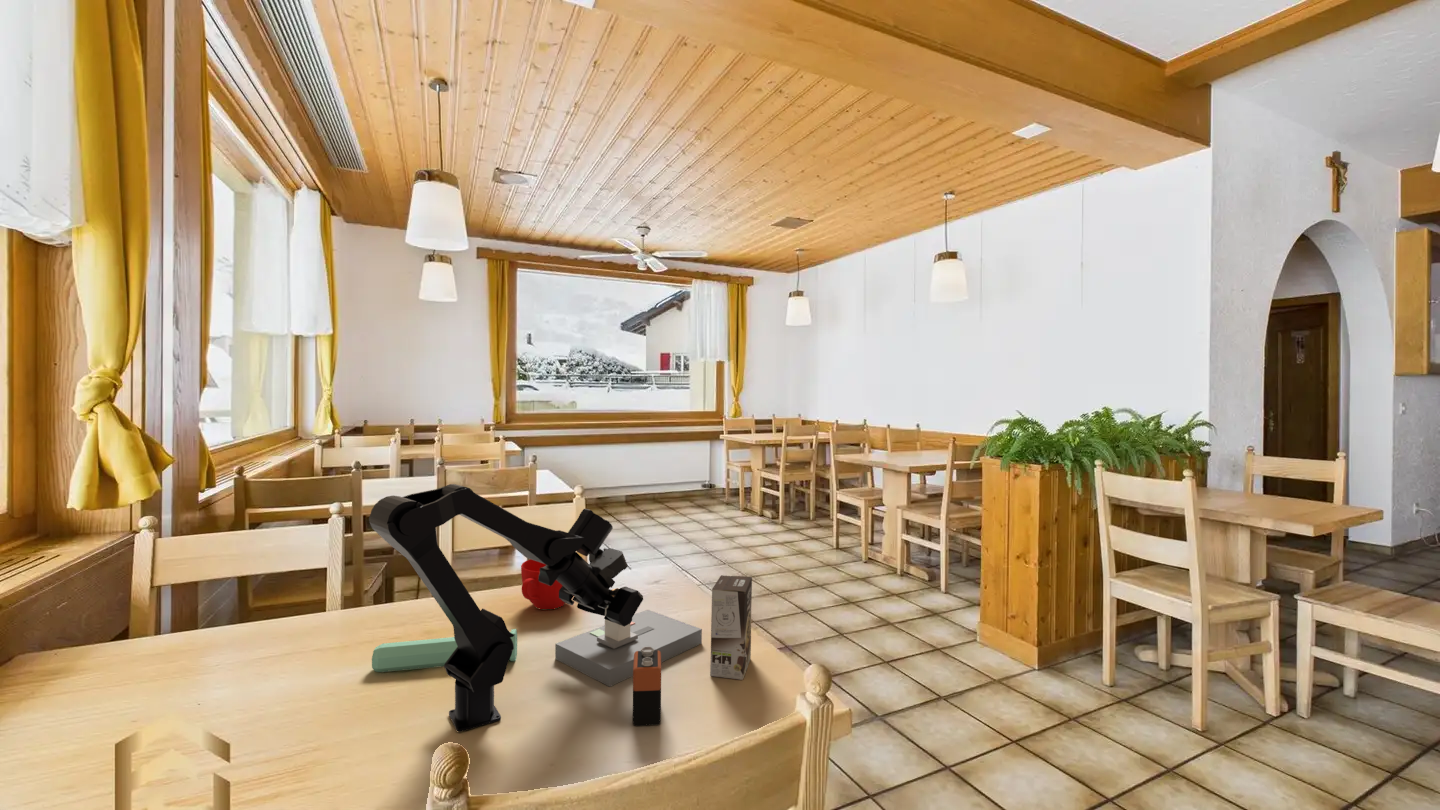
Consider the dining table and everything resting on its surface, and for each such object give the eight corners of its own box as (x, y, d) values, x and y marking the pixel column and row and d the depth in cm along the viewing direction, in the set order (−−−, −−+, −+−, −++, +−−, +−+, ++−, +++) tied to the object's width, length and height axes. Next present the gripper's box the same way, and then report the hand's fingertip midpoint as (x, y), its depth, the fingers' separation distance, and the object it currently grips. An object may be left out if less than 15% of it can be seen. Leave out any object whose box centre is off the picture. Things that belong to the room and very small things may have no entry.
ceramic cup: (498, 617, 138) (498, 573, 138) (541, 593, 154) (541, 553, 154) (549, 625, 134) (549, 579, 134) (587, 599, 150) (588, 558, 150)
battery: (660, 703, 102) (660, 644, 102) (660, 726, 96) (661, 662, 95) (633, 704, 102) (634, 644, 102) (632, 727, 95) (632, 663, 95)
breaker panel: (609, 686, 108) (609, 668, 107) (555, 659, 118) (555, 642, 118) (701, 643, 126) (701, 628, 126) (647, 622, 136) (647, 608, 136)
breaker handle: (613, 648, 115) (614, 599, 115) (596, 641, 118) (597, 593, 118) (637, 638, 120) (638, 591, 119) (620, 631, 123) (621, 585, 123)
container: (368, 641, 111) (514, 628, 116) (378, 641, 116) (517, 629, 122) (365, 677, 109) (514, 662, 114) (375, 675, 114) (517, 661, 120)
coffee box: (744, 680, 111) (745, 591, 110) (709, 676, 112) (710, 588, 111) (751, 658, 119) (753, 576, 119) (719, 655, 121) (720, 573, 120)
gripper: (635, 547, 109) (678, 593, 118) (571, 530, 121) (614, 573, 130) (600, 603, 104) (647, 647, 112) (536, 579, 116) (584, 620, 125)
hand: (623, 618), depth 120 cm, fingers closed on breaker handle, 4 cm apart
